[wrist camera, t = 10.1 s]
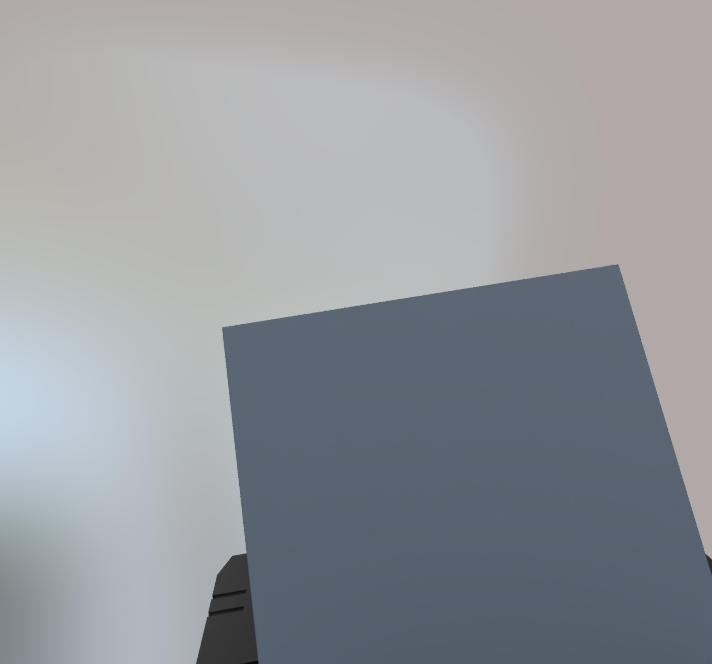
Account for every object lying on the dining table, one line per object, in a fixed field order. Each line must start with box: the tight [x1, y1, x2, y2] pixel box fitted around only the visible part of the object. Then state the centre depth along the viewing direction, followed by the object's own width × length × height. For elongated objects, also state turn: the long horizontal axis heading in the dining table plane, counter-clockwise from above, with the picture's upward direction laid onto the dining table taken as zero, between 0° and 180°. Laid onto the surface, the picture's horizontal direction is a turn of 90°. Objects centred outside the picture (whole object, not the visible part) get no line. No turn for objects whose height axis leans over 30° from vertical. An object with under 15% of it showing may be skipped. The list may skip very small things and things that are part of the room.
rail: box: [222, 265, 712, 664], centre depth 17 cm, size 22×5×9 cm, turn 178°
